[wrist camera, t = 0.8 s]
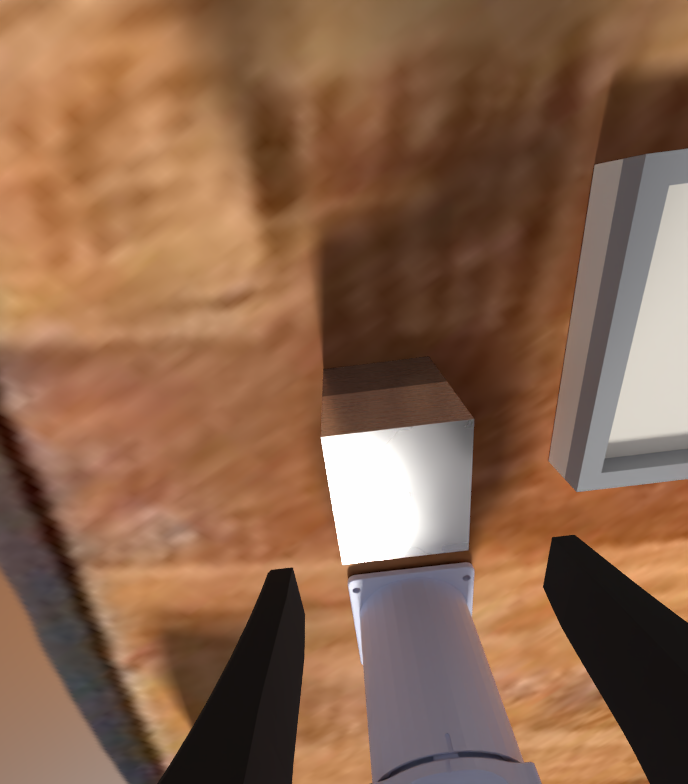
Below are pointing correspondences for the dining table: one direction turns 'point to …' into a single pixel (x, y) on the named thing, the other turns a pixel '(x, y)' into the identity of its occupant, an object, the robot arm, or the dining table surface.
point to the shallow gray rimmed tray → (628, 331)
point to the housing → (396, 460)
